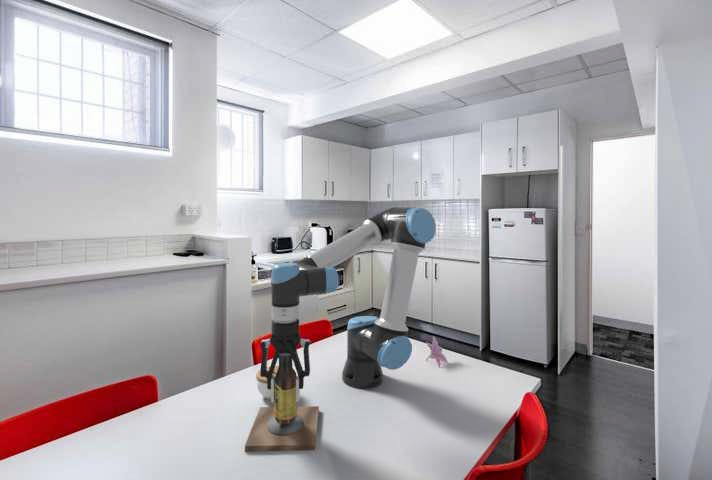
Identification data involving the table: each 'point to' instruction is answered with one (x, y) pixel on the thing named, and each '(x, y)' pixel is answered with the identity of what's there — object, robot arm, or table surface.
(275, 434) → the walnut board
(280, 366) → the sauce bottle
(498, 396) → the table surface
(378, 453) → the table surface
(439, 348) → the lily
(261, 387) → the lidded jar
